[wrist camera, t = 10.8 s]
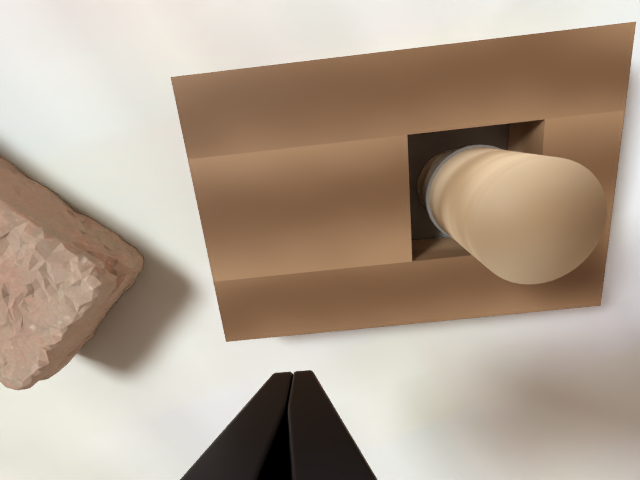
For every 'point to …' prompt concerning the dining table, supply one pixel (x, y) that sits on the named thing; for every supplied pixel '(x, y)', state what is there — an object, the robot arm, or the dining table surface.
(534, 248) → the peg
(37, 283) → the brick
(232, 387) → the dining table surface
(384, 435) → the dining table surface
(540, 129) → the seat board
